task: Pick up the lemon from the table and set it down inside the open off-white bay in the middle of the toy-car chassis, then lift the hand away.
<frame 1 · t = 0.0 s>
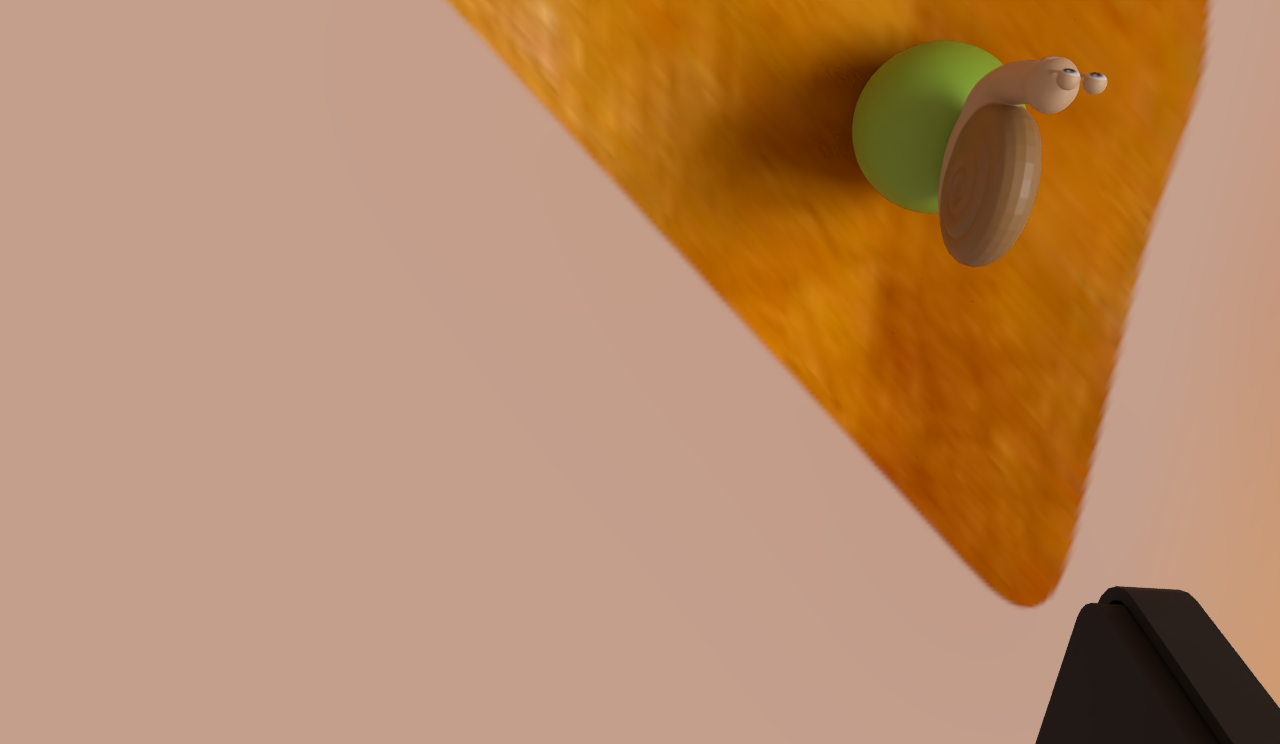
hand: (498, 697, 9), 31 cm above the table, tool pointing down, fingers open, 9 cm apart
snail figurine: (918, 93, 39), on the table
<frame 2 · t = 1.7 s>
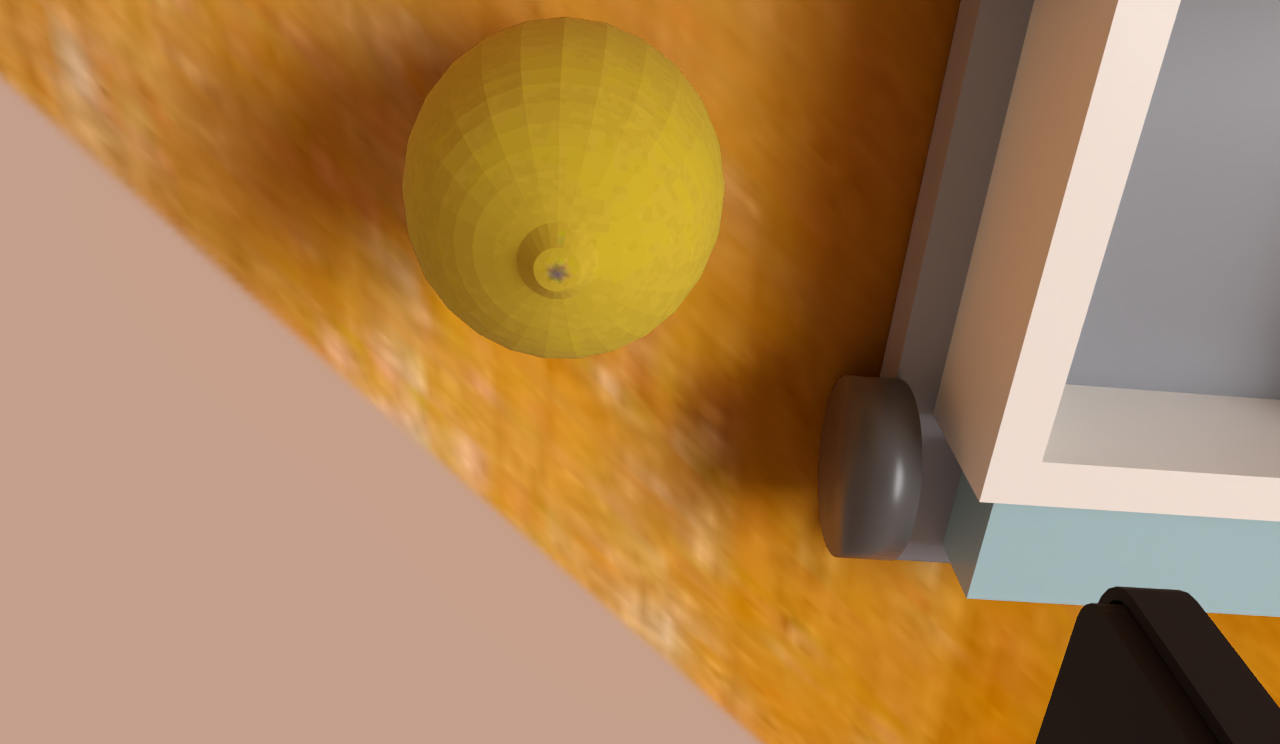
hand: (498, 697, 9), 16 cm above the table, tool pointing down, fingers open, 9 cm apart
chassis: (1222, 182, 24), on the table
lemon: (572, 123, 23), on the table
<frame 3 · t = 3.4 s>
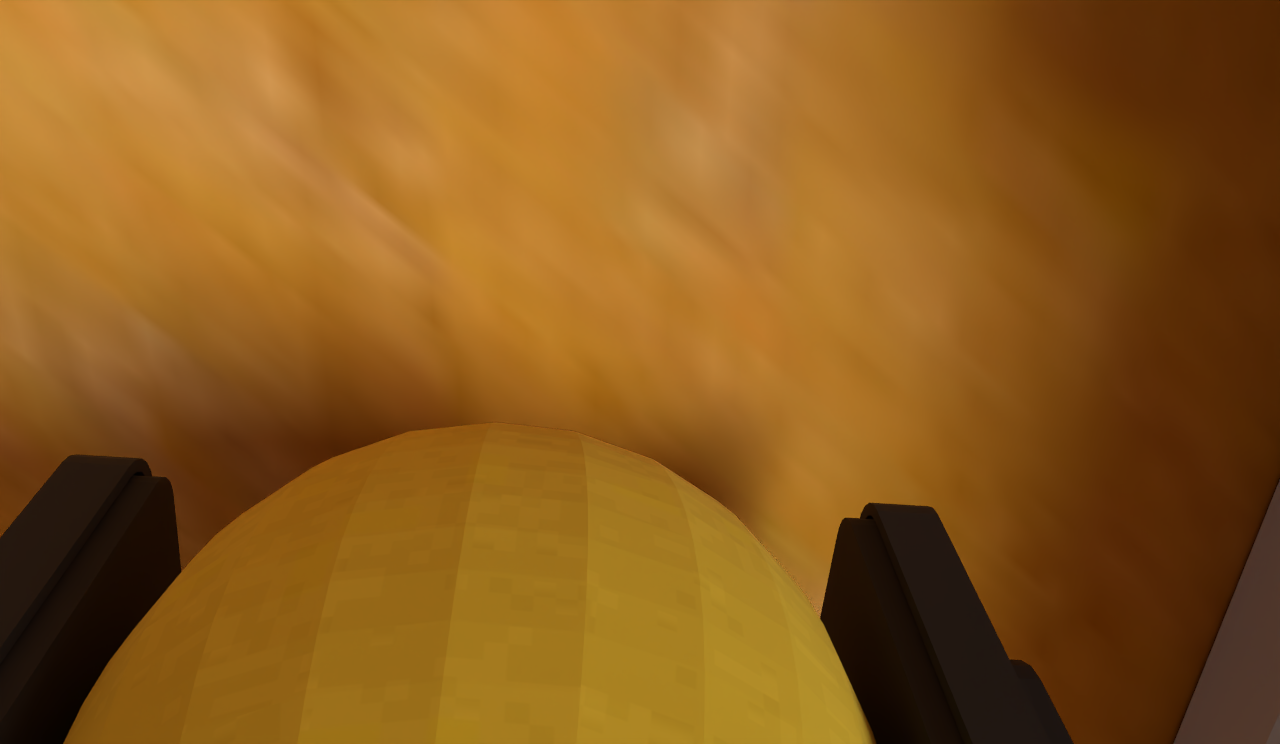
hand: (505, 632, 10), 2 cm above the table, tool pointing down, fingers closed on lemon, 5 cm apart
lemon: (519, 519, 11), on the table, touching gripper
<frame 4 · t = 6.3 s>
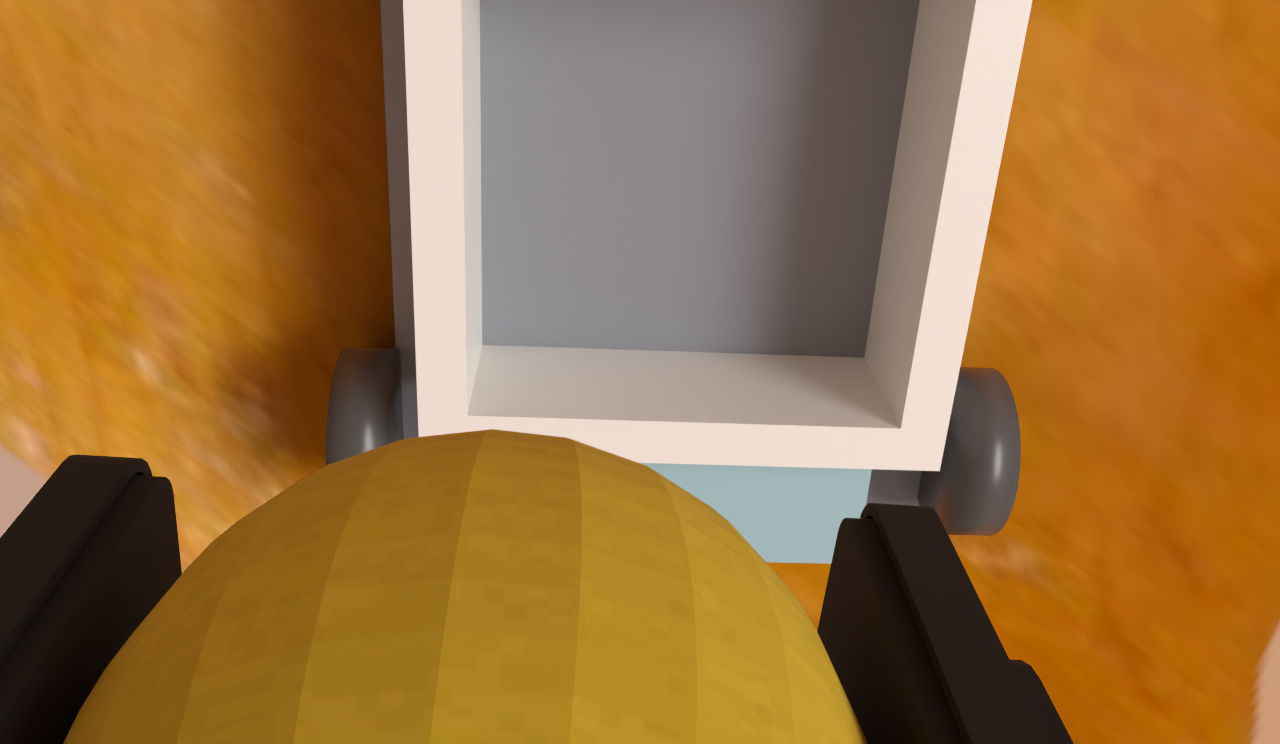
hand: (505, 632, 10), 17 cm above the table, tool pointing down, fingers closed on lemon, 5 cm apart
chassis: (685, 149, 26), on the table
lemon: (516, 524, 11), point 16 cm above the table, touching gripper
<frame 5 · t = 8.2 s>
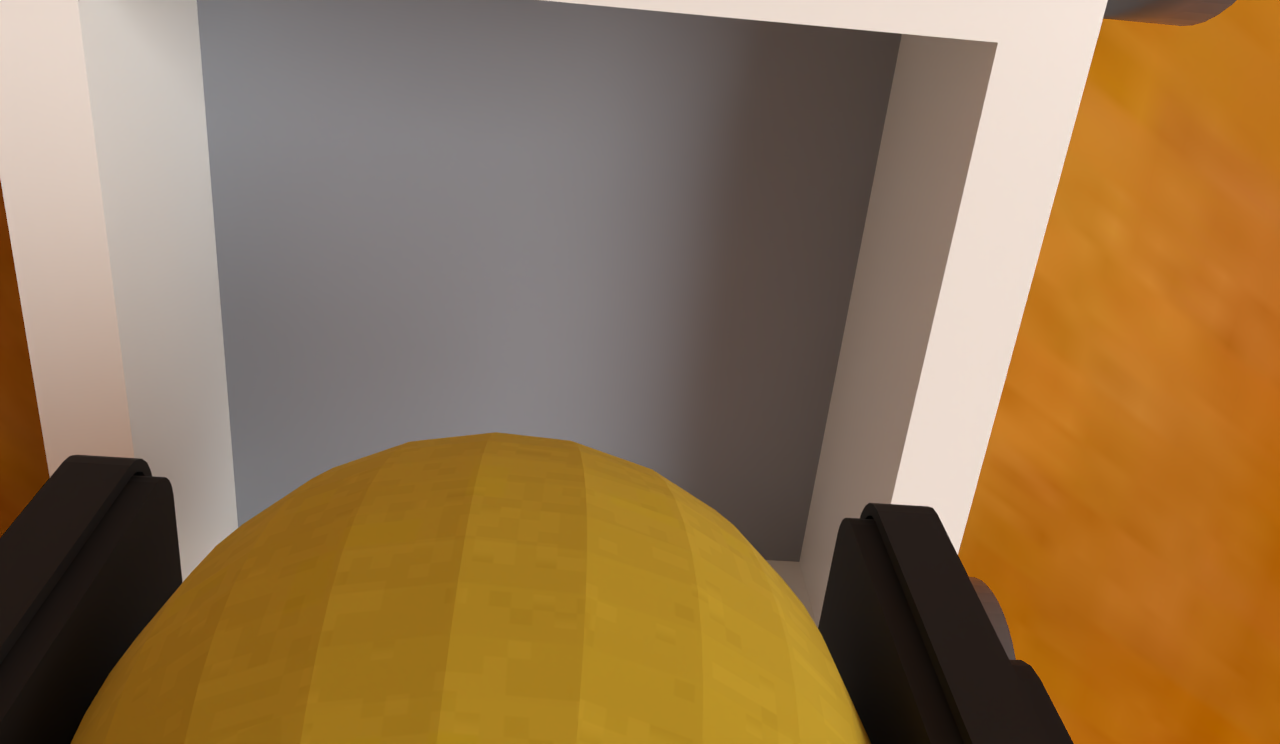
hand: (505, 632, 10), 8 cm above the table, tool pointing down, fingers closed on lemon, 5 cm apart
chassis: (542, 258, 17), on the table
lemon: (519, 526, 11), point 7 cm above the table, touching gripper
when the fingers open (5 cm above the table, at t = 9.3 s): lemon drops 2 cm, resting on chassis.
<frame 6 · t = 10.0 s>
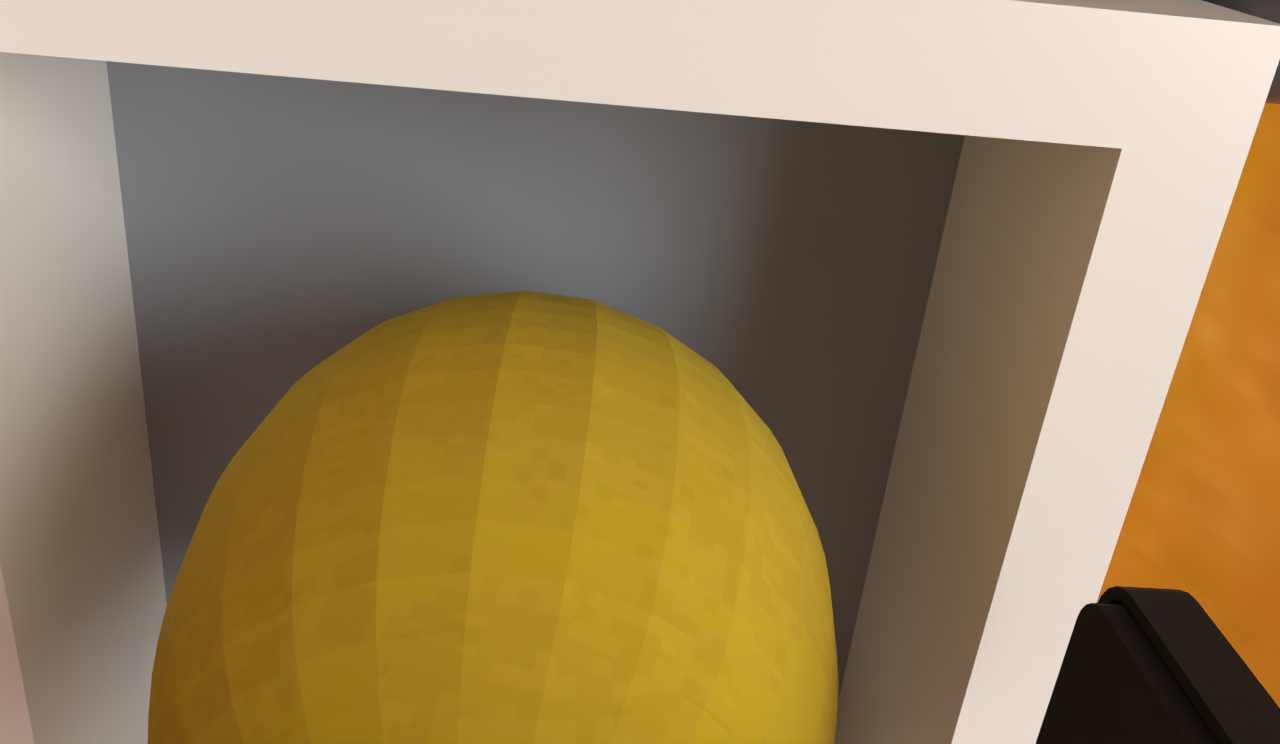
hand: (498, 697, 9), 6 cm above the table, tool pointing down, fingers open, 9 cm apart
chassis: (534, 365, 15), on the table
lemon: (547, 398, 14), point 1 cm above the table, touching chassis
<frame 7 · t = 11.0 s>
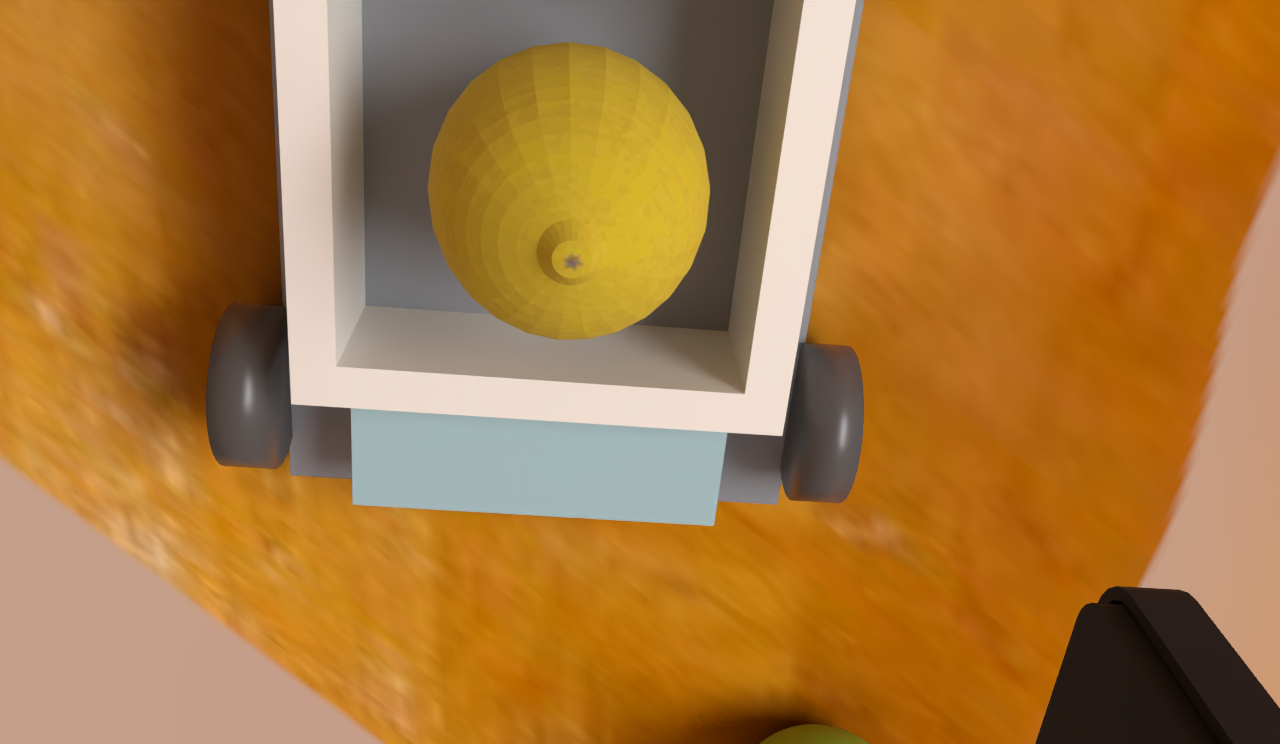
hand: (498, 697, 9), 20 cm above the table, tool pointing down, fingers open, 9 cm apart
chassis: (561, 127, 27), on the table
lemon: (568, 135, 26), point 1 cm above the table, touching chassis
snail figurine: (804, 736, 36), on the table
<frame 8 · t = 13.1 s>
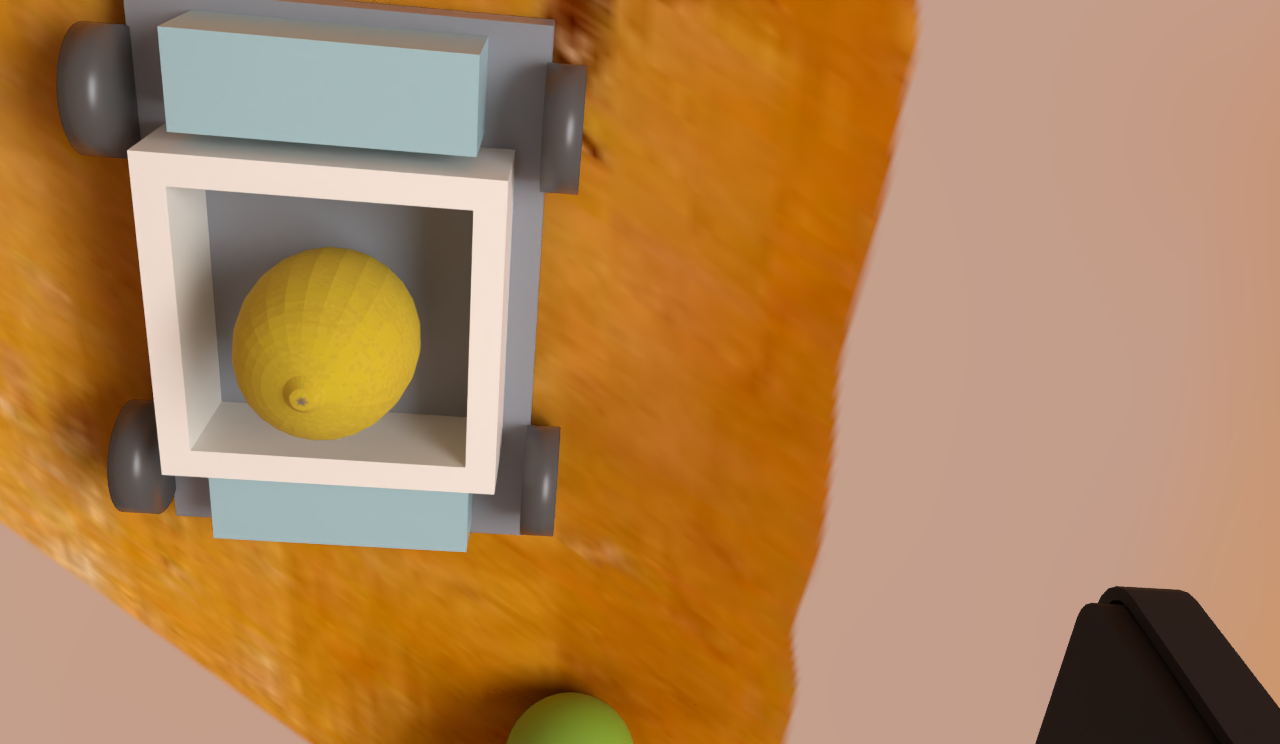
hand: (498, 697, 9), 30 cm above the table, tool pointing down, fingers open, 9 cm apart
chassis: (353, 280, 40), on the table
lemon: (353, 290, 39), point 1 cm above the table, touching chassis
snail figurine: (572, 701, 49), on the table
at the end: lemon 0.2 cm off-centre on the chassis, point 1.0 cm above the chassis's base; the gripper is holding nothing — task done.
